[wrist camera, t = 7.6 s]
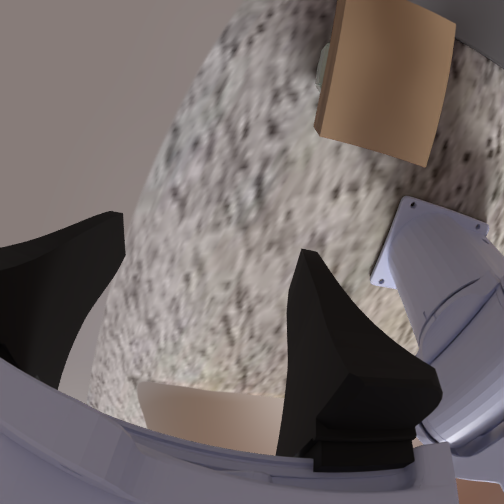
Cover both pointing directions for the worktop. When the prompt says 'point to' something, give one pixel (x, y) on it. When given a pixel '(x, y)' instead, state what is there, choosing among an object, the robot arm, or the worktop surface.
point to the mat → (474, 23)
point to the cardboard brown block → (386, 77)
